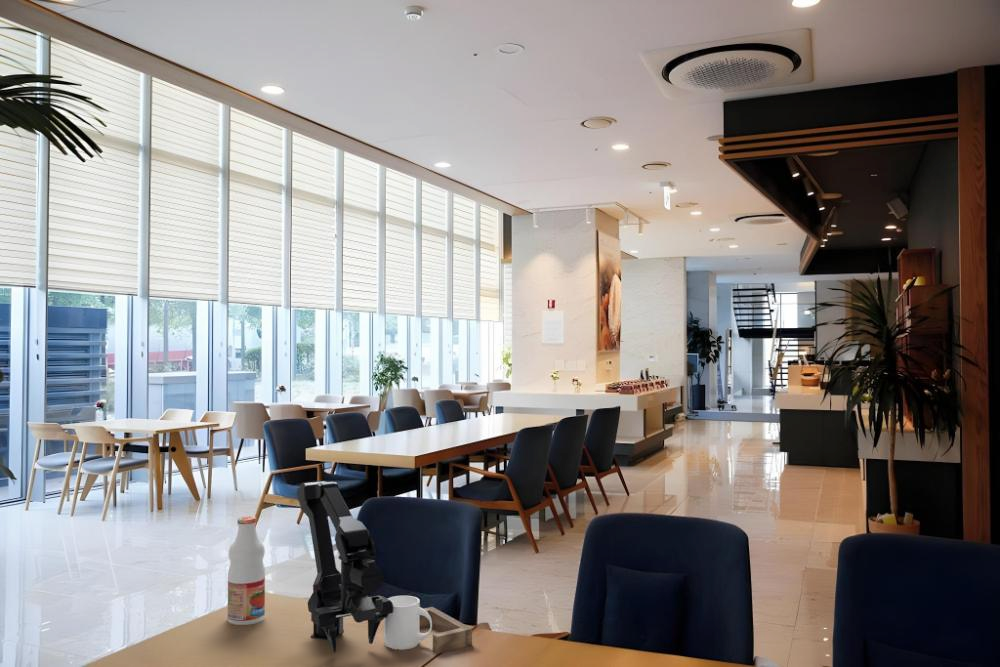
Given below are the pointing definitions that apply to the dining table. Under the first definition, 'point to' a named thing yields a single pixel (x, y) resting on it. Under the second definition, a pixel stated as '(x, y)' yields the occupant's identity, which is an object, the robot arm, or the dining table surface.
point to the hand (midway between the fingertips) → (352, 647)
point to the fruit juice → (246, 576)
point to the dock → (446, 631)
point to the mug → (404, 623)
